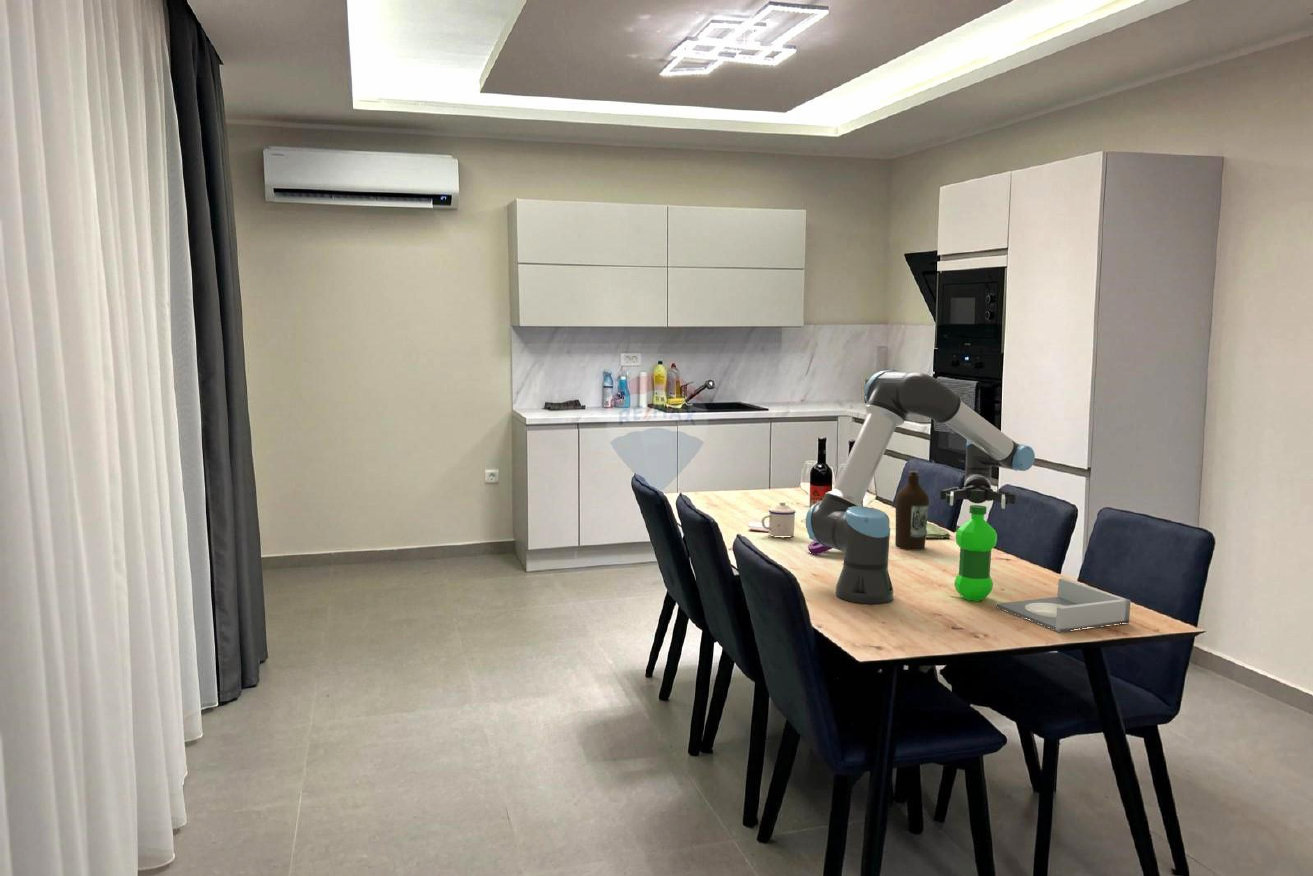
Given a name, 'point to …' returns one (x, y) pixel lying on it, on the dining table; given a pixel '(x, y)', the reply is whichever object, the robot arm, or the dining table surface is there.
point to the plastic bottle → (975, 555)
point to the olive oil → (911, 514)
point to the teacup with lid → (780, 520)
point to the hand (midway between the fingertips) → (977, 502)
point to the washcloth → (935, 532)
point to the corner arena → (1073, 608)
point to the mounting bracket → (817, 548)
